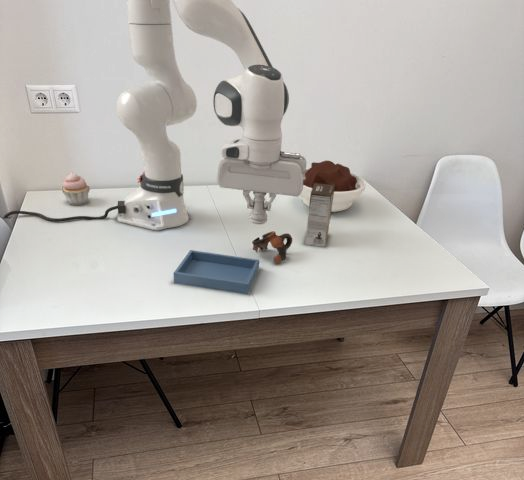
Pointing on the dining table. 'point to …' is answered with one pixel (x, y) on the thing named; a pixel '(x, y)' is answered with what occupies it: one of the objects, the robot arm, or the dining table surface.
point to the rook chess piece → (258, 209)
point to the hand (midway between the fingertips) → (258, 209)
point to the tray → (217, 271)
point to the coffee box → (319, 214)
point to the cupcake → (75, 189)
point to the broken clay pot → (274, 244)
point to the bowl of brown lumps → (333, 183)
